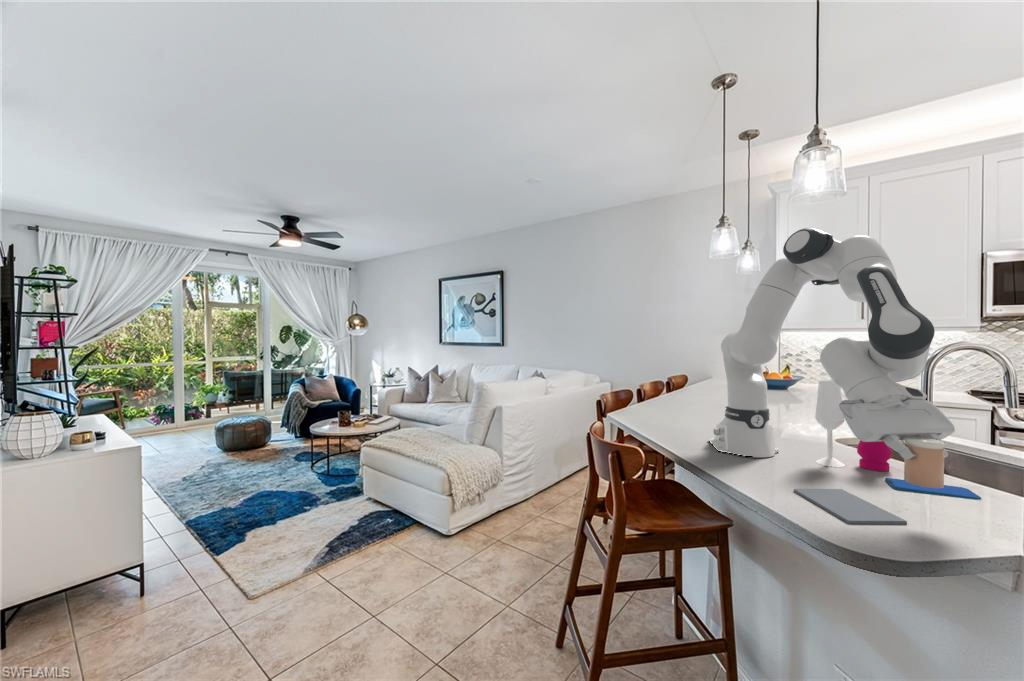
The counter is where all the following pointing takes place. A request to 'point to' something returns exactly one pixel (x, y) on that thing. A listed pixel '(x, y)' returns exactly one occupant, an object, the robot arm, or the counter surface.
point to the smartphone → (932, 489)
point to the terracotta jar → (925, 462)
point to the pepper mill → (874, 455)
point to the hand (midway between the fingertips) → (927, 457)
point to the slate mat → (849, 507)
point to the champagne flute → (829, 416)
